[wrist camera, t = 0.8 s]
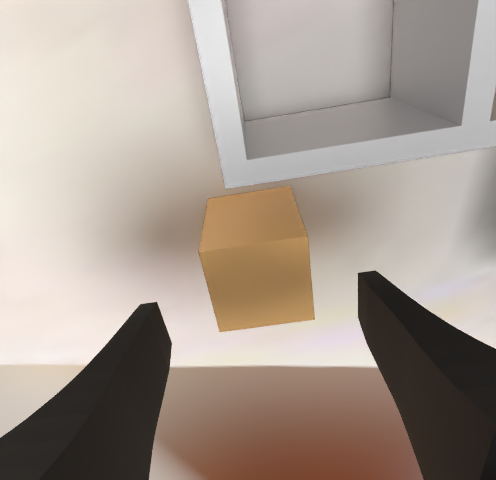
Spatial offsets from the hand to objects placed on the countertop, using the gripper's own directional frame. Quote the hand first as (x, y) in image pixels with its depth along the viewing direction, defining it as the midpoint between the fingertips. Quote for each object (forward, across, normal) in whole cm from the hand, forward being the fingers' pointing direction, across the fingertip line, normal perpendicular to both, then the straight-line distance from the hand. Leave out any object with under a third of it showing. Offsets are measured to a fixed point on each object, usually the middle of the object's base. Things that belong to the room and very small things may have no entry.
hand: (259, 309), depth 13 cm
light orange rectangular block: (+6, 0, 0) cm, 6 cm away
